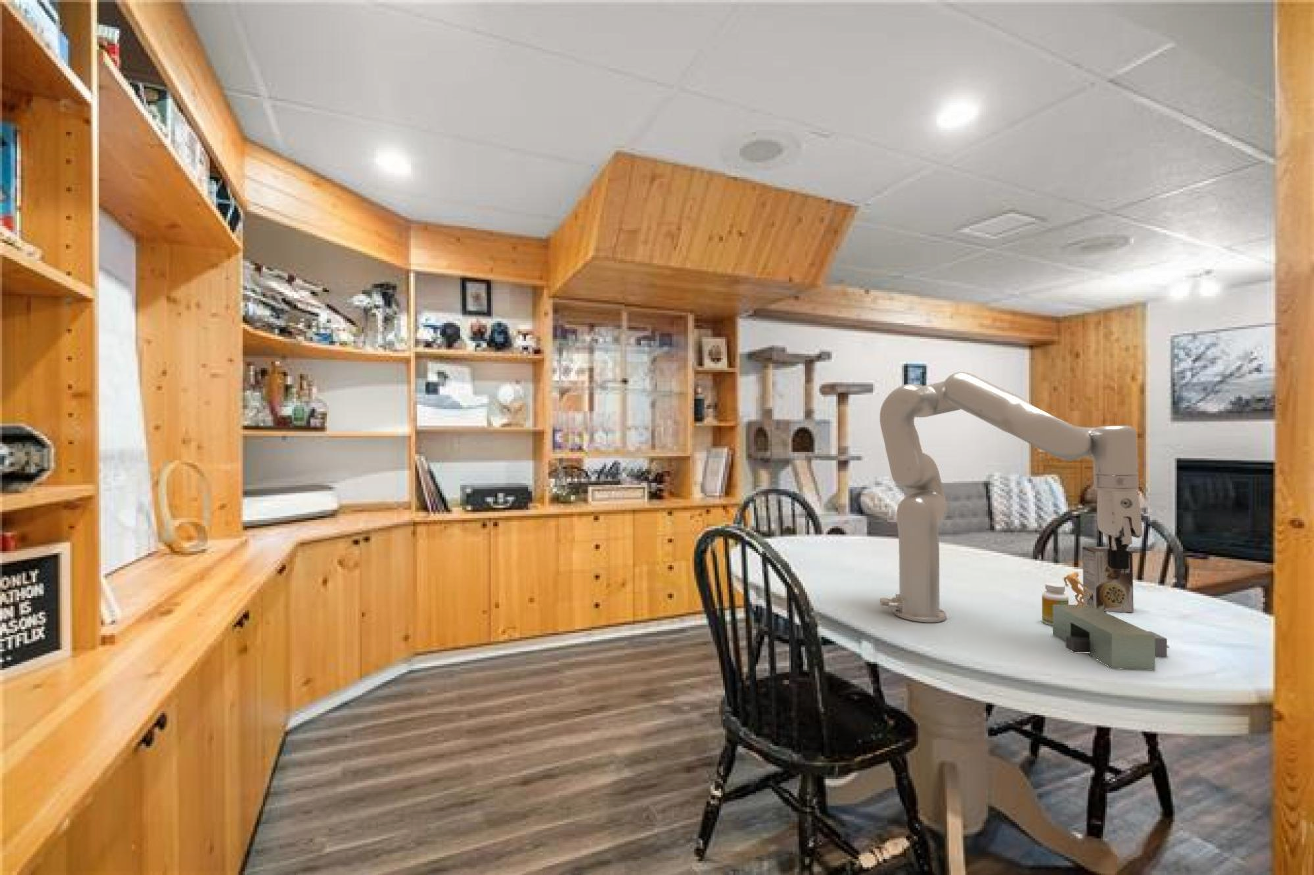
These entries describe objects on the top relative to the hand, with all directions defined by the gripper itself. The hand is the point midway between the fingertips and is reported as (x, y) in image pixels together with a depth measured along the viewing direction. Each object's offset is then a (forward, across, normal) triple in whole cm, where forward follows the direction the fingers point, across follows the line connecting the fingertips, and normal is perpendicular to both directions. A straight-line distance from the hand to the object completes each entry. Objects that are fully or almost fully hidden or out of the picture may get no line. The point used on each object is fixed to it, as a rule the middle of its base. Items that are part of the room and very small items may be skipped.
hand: (1118, 568), depth 123 cm
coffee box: (+18, +36, -10) cm, 41 cm away
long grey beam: (+18, 0, +1) cm, 18 cm away
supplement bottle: (+18, +17, +7) cm, 26 cm away
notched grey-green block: (+18, 0, +4) cm, 18 cm away
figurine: (+18, +23, 0) cm, 29 cm away
